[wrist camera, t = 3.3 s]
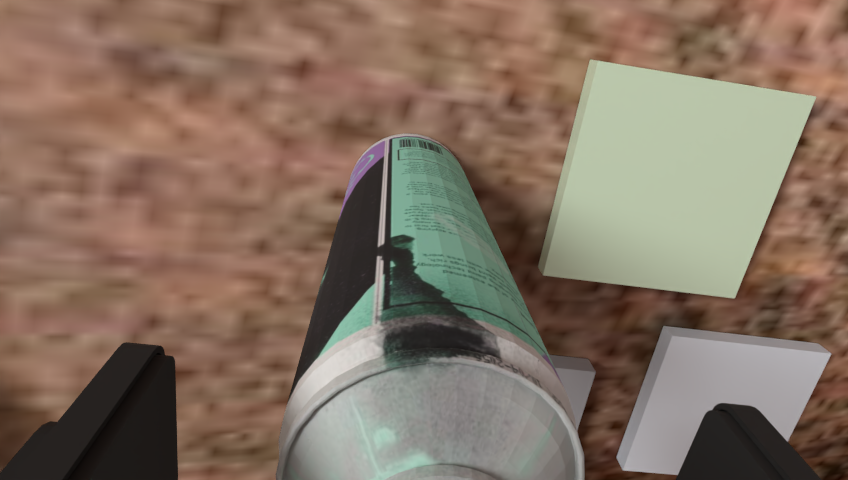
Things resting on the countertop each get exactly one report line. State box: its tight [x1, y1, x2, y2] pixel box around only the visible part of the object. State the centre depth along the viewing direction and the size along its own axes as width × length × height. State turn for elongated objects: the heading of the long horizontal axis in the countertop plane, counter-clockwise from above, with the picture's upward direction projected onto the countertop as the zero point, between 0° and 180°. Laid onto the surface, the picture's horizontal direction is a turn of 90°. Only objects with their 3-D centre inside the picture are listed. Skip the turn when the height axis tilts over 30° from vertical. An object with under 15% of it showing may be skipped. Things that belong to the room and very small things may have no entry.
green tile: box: [538, 59, 816, 298], centre depth 26 cm, size 10×10×1 cm
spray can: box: [276, 133, 585, 480], centre depth 16 cm, size 6×6×20 cm
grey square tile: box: [616, 326, 831, 475], centre depth 31 cm, size 9×9×1 cm
